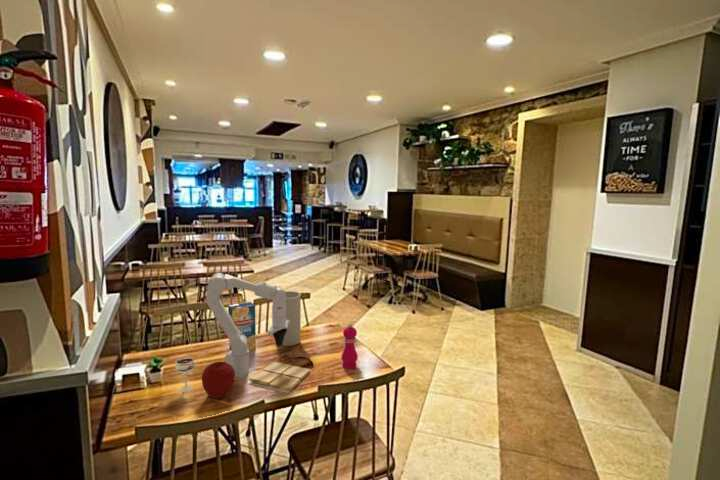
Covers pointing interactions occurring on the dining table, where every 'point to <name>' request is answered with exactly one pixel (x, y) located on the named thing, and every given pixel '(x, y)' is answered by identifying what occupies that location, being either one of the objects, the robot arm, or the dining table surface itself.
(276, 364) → the laid row
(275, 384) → the plank
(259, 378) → the plank
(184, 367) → the wineglass
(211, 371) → the apple
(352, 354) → the pepper mill
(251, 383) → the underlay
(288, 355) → the brown shoe
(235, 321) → the beverage box
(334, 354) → the dining table surface
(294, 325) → the cylinder vase
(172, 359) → the dining table surface
